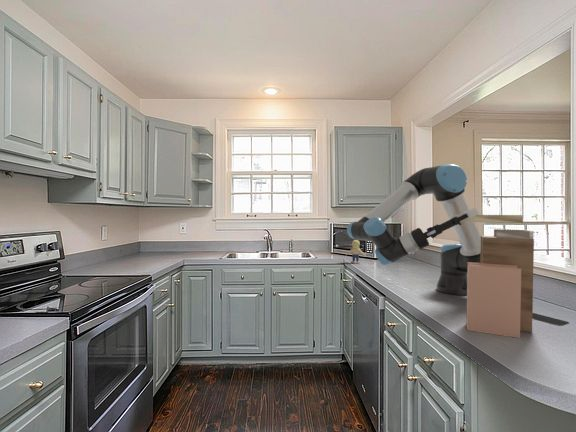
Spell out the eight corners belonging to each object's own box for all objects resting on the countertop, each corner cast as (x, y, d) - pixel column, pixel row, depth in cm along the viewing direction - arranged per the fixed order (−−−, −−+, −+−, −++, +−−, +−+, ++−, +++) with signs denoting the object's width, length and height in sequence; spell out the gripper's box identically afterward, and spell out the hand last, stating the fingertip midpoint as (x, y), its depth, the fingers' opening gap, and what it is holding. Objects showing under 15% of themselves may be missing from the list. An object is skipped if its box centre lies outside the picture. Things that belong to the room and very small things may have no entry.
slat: (453, 221, 119) (453, 214, 119) (520, 222, 110) (520, 215, 110) (453, 221, 115) (453, 214, 115) (522, 222, 106) (522, 215, 106)
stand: (479, 317, 118) (480, 228, 117) (526, 323, 111) (527, 230, 111) (481, 324, 110) (483, 229, 109) (532, 332, 103) (534, 231, 103)
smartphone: (559, 325, 109) (512, 312, 123) (559, 327, 109) (512, 314, 123) (570, 322, 112) (523, 310, 126) (570, 324, 112) (523, 312, 126)
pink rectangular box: (466, 323, 111) (467, 262, 110) (515, 330, 104) (516, 265, 104) (467, 330, 104) (468, 265, 104) (519, 338, 98) (521, 268, 98)
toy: (365, 262, 245) (365, 239, 245) (365, 263, 239) (366, 240, 238) (345, 261, 248) (345, 239, 248) (345, 263, 241) (345, 240, 241)
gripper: (421, 247, 130) (480, 219, 121) (418, 251, 115) (484, 220, 105) (411, 231, 131) (469, 202, 122) (407, 233, 116) (472, 200, 107)
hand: (476, 210), depth 114 cm, fingers closed on slat, 4 cm apart
